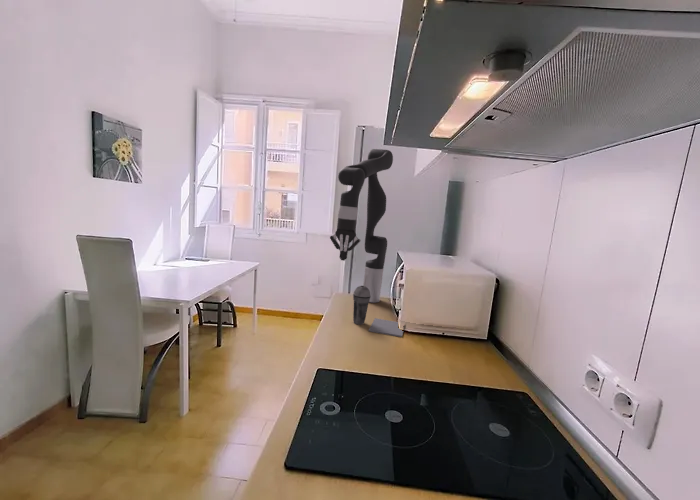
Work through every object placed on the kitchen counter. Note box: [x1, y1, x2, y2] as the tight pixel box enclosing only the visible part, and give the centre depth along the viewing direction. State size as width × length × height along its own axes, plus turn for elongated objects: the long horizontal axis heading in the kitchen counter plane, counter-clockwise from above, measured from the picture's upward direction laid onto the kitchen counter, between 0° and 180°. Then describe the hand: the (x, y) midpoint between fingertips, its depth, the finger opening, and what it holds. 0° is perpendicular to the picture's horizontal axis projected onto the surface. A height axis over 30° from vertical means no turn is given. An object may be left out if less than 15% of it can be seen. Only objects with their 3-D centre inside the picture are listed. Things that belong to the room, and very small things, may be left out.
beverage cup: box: [352, 275, 371, 326], centre depth 150 cm, size 7×7×20 cm
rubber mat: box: [368, 317, 404, 338], centre depth 149 cm, size 16×13×1 cm
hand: (342, 260), depth 150 cm, fingers closed
